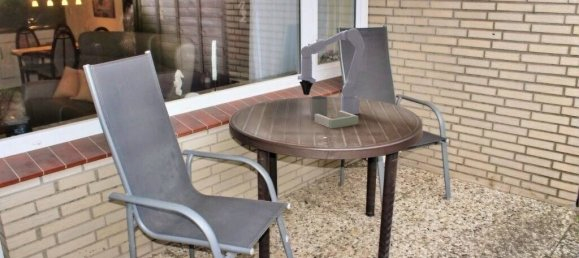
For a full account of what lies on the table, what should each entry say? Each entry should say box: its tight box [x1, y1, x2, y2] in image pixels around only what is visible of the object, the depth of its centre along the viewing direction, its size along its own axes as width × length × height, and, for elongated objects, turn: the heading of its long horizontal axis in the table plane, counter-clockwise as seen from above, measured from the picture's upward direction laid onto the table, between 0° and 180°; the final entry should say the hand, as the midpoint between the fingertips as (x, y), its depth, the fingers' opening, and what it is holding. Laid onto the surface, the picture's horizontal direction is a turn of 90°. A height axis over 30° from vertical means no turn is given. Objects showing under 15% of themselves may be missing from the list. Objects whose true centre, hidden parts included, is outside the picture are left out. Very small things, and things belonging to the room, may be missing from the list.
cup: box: [310, 95, 328, 119], centre depth 248 cm, size 8×8×10 cm
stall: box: [314, 109, 359, 130], centre depth 236 cm, size 16×14×4 cm
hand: (306, 94), depth 256 cm, fingers closed
